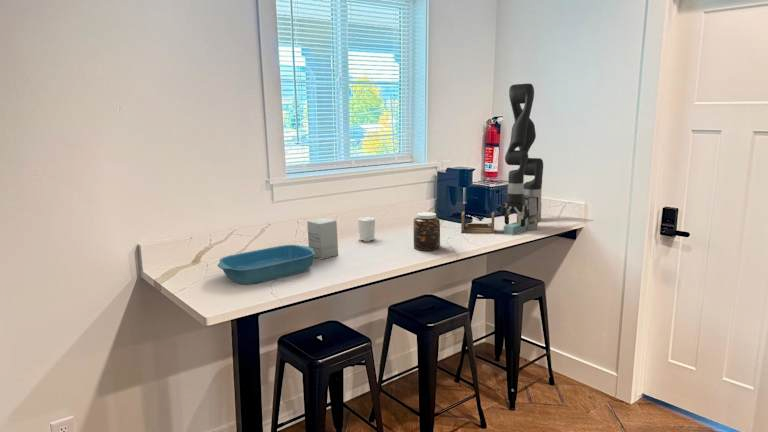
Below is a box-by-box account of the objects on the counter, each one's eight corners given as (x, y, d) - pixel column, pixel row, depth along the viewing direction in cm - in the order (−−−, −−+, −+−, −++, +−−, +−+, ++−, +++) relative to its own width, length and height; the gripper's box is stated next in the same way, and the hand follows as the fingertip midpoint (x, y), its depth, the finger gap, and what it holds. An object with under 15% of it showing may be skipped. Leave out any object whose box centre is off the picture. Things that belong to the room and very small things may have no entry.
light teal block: (503, 233, 250) (503, 225, 250) (516, 229, 259) (516, 221, 258) (513, 235, 247) (513, 227, 246) (525, 231, 255) (526, 223, 255)
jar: (445, 247, 227) (445, 213, 224) (429, 252, 218) (429, 217, 216) (424, 243, 235) (424, 210, 232) (407, 248, 226) (407, 214, 224)
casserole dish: (233, 291, 175) (231, 271, 174) (209, 276, 193) (208, 258, 191) (326, 270, 197) (325, 252, 196) (298, 258, 215) (297, 241, 213)
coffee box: (538, 229, 257) (539, 197, 254) (528, 230, 255) (528, 198, 252) (525, 225, 266) (526, 194, 263) (515, 227, 263) (516, 195, 260)
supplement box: (325, 251, 224) (323, 217, 221) (338, 255, 218) (337, 220, 215) (308, 255, 218) (306, 220, 215) (321, 259, 211) (319, 223, 209)
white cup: (355, 241, 242) (355, 220, 240) (362, 237, 249) (362, 216, 247) (371, 242, 239) (370, 220, 237) (378, 238, 246) (377, 217, 244)
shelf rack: (462, 229, 261) (462, 211, 260) (493, 229, 258) (494, 211, 257) (461, 233, 253) (461, 214, 251) (494, 233, 250) (494, 215, 248)
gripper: (533, 192, 246) (531, 226, 249) (507, 190, 257) (506, 222, 259) (524, 194, 241) (523, 228, 244) (498, 191, 251) (497, 224, 254)
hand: (514, 225), depth 252 cm, fingers open, 8 cm apart
